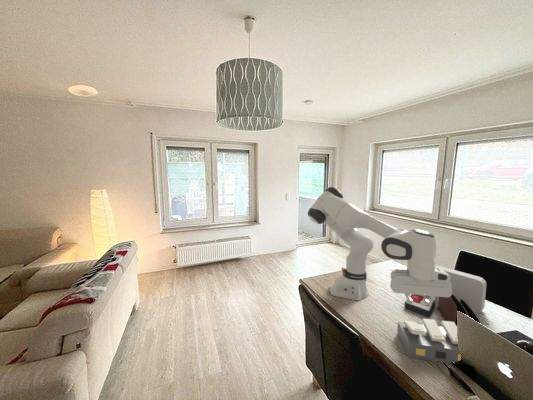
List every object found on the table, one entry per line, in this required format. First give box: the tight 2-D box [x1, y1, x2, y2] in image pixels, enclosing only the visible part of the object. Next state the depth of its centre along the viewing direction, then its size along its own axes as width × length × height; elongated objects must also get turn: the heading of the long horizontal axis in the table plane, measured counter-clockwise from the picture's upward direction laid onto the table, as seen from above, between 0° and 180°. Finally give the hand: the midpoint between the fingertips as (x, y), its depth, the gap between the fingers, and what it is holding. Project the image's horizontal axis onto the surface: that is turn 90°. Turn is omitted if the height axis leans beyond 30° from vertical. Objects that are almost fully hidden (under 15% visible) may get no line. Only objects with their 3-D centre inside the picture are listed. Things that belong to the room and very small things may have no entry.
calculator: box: [404, 294, 437, 319], centre depth 118 cm, size 11×4×15 cm
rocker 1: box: [403, 320, 425, 335], centre depth 91 cm, size 4×9×2 cm, turn 166°
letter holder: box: [437, 294, 482, 326], centre depth 105 cm, size 10×20×14 cm, turn 158°
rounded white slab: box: [435, 264, 487, 315], centre depth 123 cm, size 29×8×18 cm, turn 33°
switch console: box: [396, 321, 461, 364], centre depth 90 cm, size 22×13×7 cm, turn 76°
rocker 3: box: [440, 320, 458, 344], centre depth 88 cm, size 4×9×2 cm, turn 166°
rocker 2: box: [421, 318, 446, 342], centre depth 90 cm, size 4×9×2 cm, turn 166°
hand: (418, 304), depth 87 cm, fingers open, 5 cm apart
